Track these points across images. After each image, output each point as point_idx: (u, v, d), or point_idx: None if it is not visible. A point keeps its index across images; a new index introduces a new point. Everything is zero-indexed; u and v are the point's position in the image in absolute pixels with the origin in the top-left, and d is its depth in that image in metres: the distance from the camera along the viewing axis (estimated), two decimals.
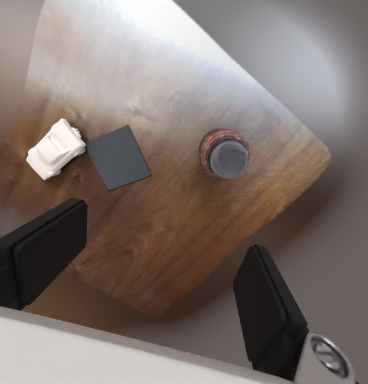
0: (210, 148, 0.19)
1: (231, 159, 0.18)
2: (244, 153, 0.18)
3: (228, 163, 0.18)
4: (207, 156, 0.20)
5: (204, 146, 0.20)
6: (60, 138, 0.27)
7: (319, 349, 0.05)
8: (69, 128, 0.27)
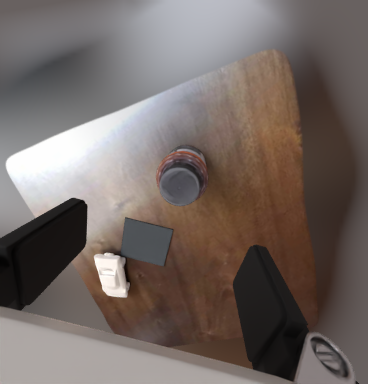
0: None
1: (179, 185, 0.16)
2: (181, 171, 0.16)
3: (181, 189, 0.17)
4: None
5: None
6: (105, 267, 0.33)
7: (319, 349, 0.05)
8: (102, 257, 0.33)
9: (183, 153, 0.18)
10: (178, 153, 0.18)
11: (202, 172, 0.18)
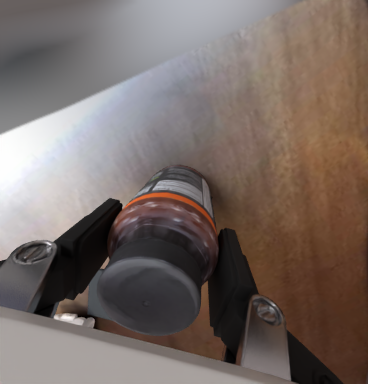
0: None
1: (147, 297, 0.06)
2: (149, 268, 0.06)
3: (152, 307, 0.06)
4: None
5: None
6: None
7: (260, 308, 0.06)
8: None
9: (163, 201, 0.08)
10: (152, 201, 0.08)
11: (205, 245, 0.08)
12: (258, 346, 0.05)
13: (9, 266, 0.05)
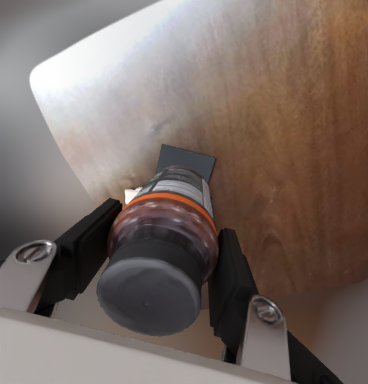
0: None
1: (146, 298, 0.06)
2: (149, 268, 0.06)
3: (152, 307, 0.06)
4: None
5: None
6: None
7: (260, 308, 0.06)
8: (134, 191, 0.29)
9: (163, 202, 0.08)
10: (152, 201, 0.08)
11: (205, 246, 0.08)
12: (258, 346, 0.05)
13: (9, 266, 0.05)
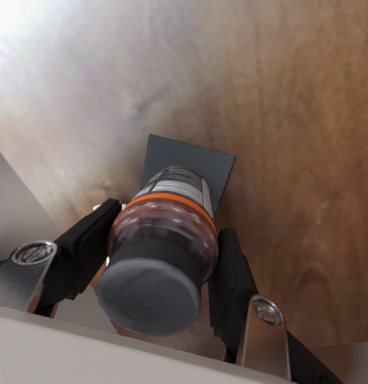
0: None
1: (146, 298, 0.06)
2: (149, 269, 0.06)
3: (152, 308, 0.06)
4: None
5: None
6: None
7: (260, 308, 0.06)
8: None
9: (163, 202, 0.08)
10: (152, 202, 0.08)
11: (205, 246, 0.08)
12: (258, 346, 0.05)
13: (9, 266, 0.05)
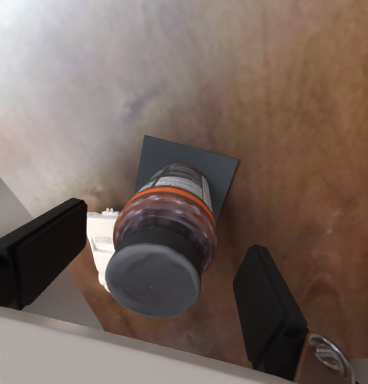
0: None
1: (151, 281, 0.07)
2: (153, 253, 0.06)
3: (156, 290, 0.07)
4: None
5: None
6: (103, 236, 0.17)
7: (319, 349, 0.05)
8: (99, 216, 0.17)
9: (166, 195, 0.09)
10: (155, 195, 0.09)
11: (205, 236, 0.08)
12: None
13: None
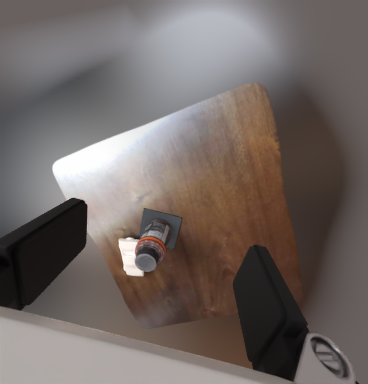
0: None
1: (145, 262, 0.30)
2: (145, 255, 0.30)
3: (146, 264, 0.31)
4: None
5: None
6: (127, 248, 0.41)
7: (319, 349, 0.05)
8: (125, 240, 0.41)
9: (149, 240, 0.32)
10: (146, 240, 0.32)
11: (159, 251, 0.32)
12: None
13: None
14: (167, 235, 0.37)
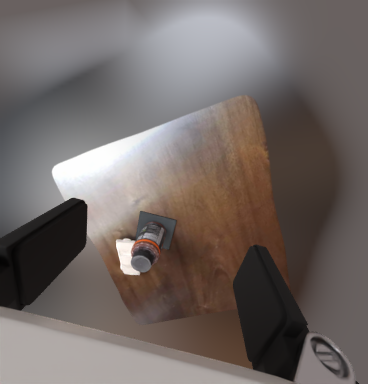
0: None
1: (140, 263, 0.32)
2: (140, 257, 0.32)
3: (141, 265, 0.33)
4: None
5: None
6: (124, 249, 0.43)
7: (319, 349, 0.05)
8: (122, 241, 0.43)
9: (144, 242, 0.34)
10: (142, 242, 0.34)
11: (154, 252, 0.34)
12: None
13: None
14: (162, 237, 0.39)
